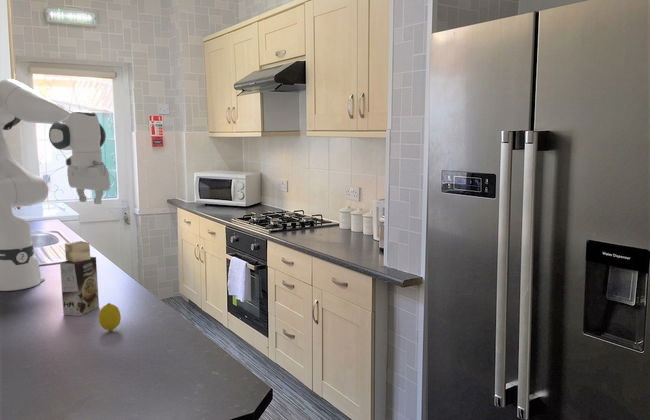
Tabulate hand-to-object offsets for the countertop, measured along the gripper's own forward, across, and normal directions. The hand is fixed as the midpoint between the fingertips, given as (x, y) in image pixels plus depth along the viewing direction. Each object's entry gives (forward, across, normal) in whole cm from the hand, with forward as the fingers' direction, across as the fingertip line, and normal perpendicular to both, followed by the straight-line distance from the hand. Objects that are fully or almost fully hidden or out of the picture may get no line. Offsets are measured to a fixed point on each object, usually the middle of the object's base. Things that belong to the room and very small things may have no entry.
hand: (90, 202), depth 181 cm
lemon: (+31, -36, +16) cm, 50 cm away
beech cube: (+15, -13, +12) cm, 23 cm away
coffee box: (+31, -13, +12) cm, 36 cm away
